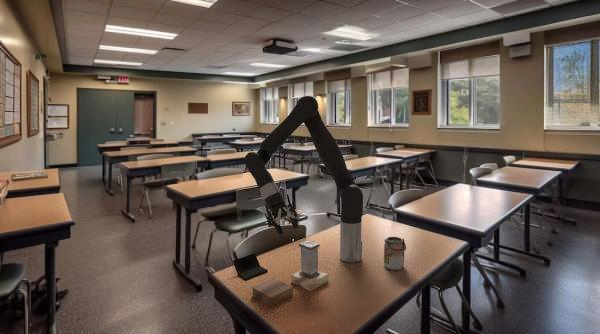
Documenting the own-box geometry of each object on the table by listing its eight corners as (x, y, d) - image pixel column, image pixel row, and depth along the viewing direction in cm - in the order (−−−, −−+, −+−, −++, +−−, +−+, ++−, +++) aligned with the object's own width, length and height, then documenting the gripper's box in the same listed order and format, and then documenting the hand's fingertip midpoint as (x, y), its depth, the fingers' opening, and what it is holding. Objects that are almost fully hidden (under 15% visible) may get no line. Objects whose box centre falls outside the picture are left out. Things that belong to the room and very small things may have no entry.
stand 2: (291, 282, 127) (291, 274, 127) (309, 273, 134) (309, 266, 134) (310, 291, 120) (310, 283, 120) (328, 281, 127) (328, 274, 127)
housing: (299, 273, 127) (298, 243, 125) (308, 269, 131) (307, 240, 129) (311, 278, 123) (310, 247, 121) (319, 274, 126) (319, 244, 125)
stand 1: (252, 295, 117) (252, 287, 117) (274, 285, 124) (274, 277, 124) (271, 306, 110) (271, 297, 110) (293, 294, 118) (292, 286, 117)
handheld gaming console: (249, 278, 127) (240, 253, 131) (238, 285, 131) (230, 261, 135) (270, 271, 136) (261, 249, 140) (259, 278, 140) (251, 256, 144)
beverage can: (408, 272, 134) (409, 243, 133) (387, 272, 134) (388, 244, 132) (400, 262, 144) (400, 235, 142) (380, 263, 143) (381, 236, 141)
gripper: (264, 195, 130) (282, 233, 126) (288, 188, 140) (306, 222, 137) (254, 203, 135) (271, 240, 131) (278, 195, 145) (295, 229, 142)
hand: (289, 231), depth 134 cm, fingers open, 8 cm apart
